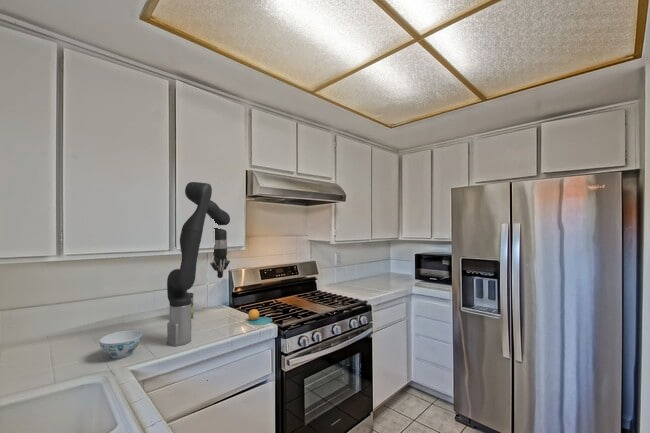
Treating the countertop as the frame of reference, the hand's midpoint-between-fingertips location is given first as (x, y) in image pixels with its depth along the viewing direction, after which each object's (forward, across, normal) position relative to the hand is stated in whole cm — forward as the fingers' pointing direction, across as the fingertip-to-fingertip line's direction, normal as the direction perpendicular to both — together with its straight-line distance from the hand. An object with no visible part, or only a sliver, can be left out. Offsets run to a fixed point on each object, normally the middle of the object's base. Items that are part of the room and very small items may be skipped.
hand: (220, 277), depth 179 cm
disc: (+23, +7, -24) cm, 34 cm away
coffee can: (+23, -12, +16) cm, 31 cm away
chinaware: (+23, -55, -3) cm, 60 cm away
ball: (+20, +6, -20) cm, 29 cm away
